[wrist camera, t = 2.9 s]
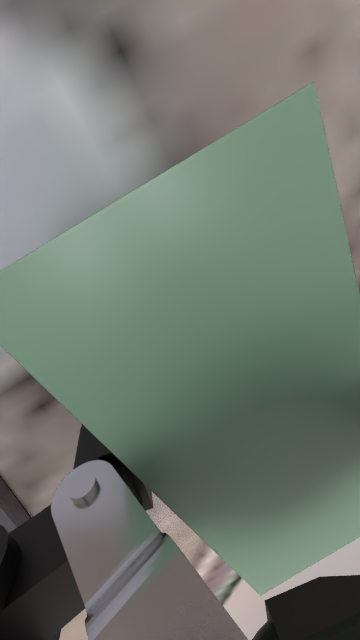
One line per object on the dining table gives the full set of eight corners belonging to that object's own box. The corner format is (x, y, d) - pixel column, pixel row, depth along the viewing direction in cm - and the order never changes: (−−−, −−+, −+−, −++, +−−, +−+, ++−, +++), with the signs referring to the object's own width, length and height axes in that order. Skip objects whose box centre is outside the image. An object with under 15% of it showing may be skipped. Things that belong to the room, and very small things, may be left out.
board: (47, 251, 8) (-48, 299, 3) (202, 157, 8) (313, 81, 3) (211, 463, 13) (260, 595, 8) (305, 407, 13) (405, 510, 8)
